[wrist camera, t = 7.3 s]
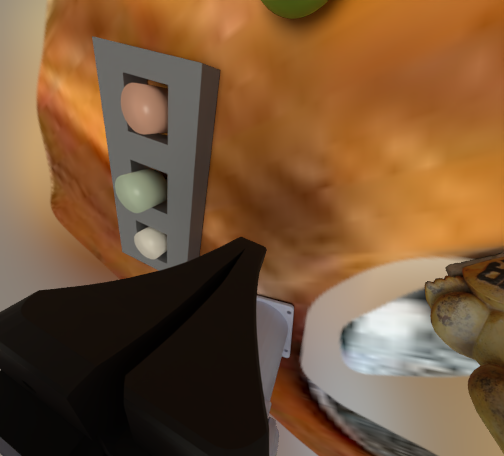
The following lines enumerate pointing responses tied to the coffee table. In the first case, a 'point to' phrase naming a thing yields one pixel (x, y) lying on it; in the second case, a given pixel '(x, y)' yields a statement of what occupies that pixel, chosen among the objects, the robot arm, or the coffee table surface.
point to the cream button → (151, 242)
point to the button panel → (161, 144)
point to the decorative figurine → (475, 330)
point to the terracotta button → (145, 108)
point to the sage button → (141, 189)
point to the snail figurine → (293, 7)
